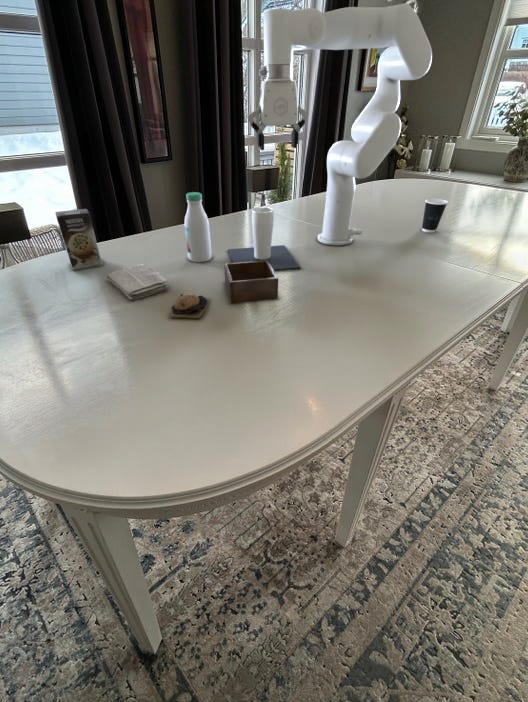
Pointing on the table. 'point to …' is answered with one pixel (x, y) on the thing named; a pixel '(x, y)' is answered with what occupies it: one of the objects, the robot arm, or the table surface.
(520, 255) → the table surface
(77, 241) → the cookie box
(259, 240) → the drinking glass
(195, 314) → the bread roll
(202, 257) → the milk bottle
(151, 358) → the table surface
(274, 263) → the mat
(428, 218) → the dixie cup
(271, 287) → the box
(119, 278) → the washcloth
